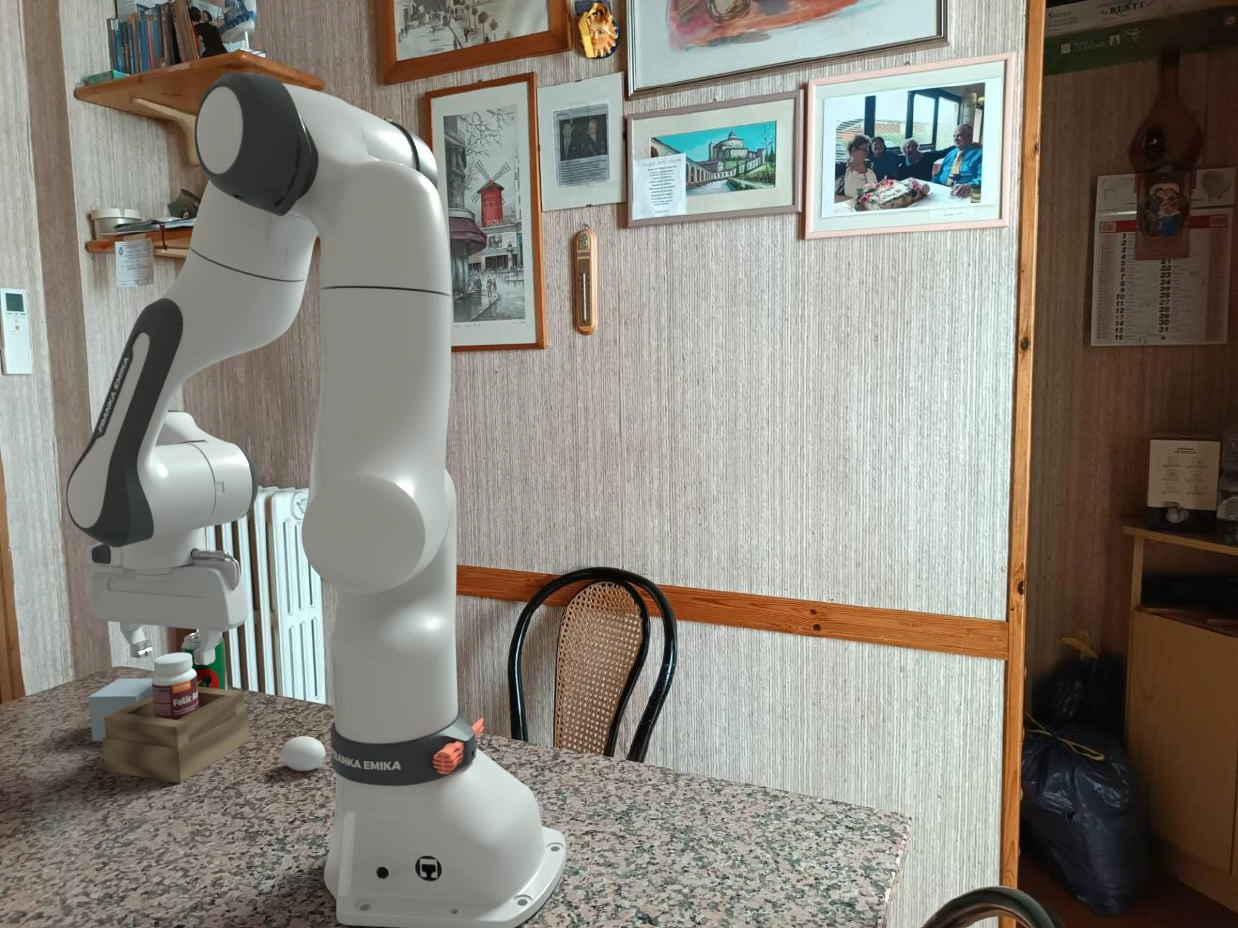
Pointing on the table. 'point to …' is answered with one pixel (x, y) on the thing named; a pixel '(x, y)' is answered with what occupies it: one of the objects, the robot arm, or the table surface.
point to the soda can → (212, 672)
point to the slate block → (115, 701)
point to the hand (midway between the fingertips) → (172, 659)
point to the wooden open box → (175, 736)
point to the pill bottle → (174, 686)
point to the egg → (303, 753)
